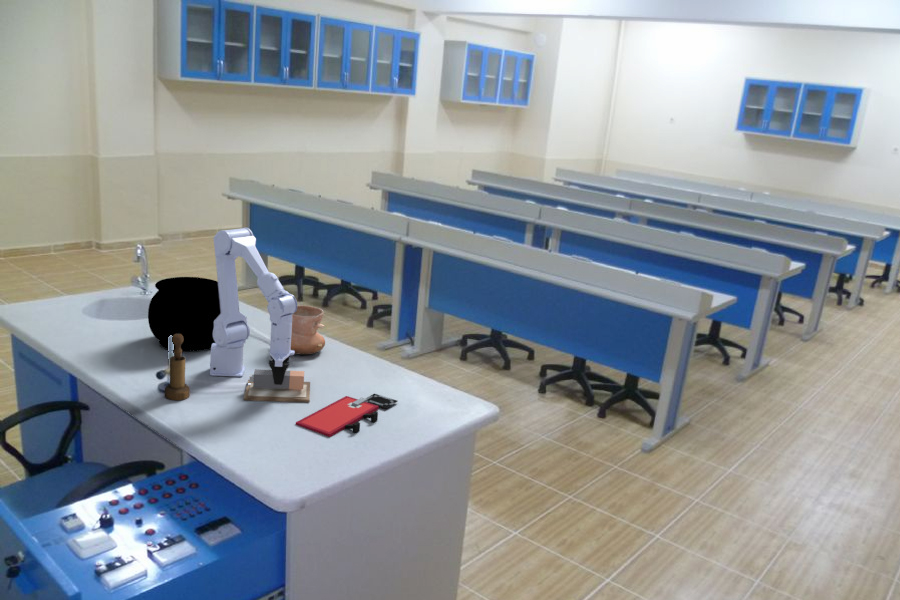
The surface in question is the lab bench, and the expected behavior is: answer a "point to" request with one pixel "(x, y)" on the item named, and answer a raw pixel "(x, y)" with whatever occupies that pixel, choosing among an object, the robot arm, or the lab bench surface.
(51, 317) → the lab bench surface
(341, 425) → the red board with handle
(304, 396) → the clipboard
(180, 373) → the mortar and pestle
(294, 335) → the ceramic jug
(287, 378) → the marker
